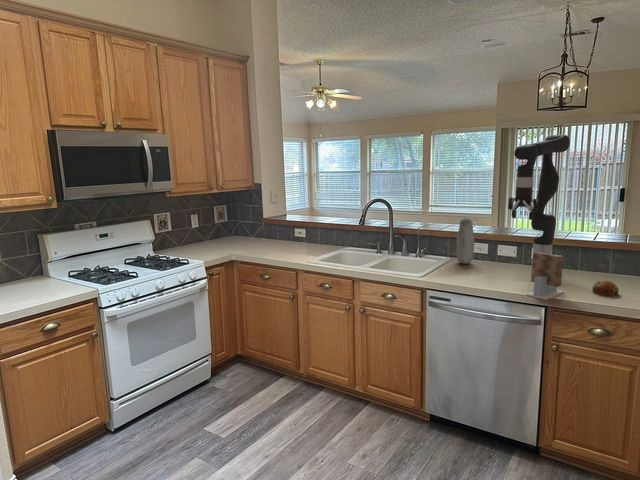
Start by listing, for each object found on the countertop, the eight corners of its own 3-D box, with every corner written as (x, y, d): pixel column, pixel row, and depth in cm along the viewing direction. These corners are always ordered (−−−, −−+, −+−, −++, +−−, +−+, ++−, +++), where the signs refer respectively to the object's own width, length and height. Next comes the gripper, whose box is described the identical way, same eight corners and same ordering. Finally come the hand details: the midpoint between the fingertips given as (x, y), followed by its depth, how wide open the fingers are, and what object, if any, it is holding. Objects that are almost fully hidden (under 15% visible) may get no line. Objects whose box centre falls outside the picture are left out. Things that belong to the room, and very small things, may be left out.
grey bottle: (455, 261, 269) (457, 217, 264) (473, 262, 266) (475, 217, 261) (455, 264, 260) (457, 219, 255) (473, 265, 256) (475, 219, 251)
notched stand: (544, 288, 209) (545, 270, 207) (563, 292, 202) (565, 274, 200) (526, 295, 199) (527, 276, 197) (546, 299, 192) (547, 280, 190)
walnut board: (531, 281, 203) (533, 252, 201) (534, 280, 205) (537, 251, 203) (557, 287, 194) (559, 256, 191) (560, 285, 196) (563, 255, 193)
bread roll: (610, 298, 204) (606, 281, 206) (625, 295, 194) (622, 277, 196) (590, 298, 203) (586, 282, 205) (604, 296, 193) (601, 278, 195)
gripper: (542, 186, 207) (540, 219, 210) (514, 185, 218) (512, 216, 221) (534, 187, 203) (532, 220, 206) (506, 186, 214) (504, 218, 217)
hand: (522, 218), depth 213 cm, fingers open, 8 cm apart
